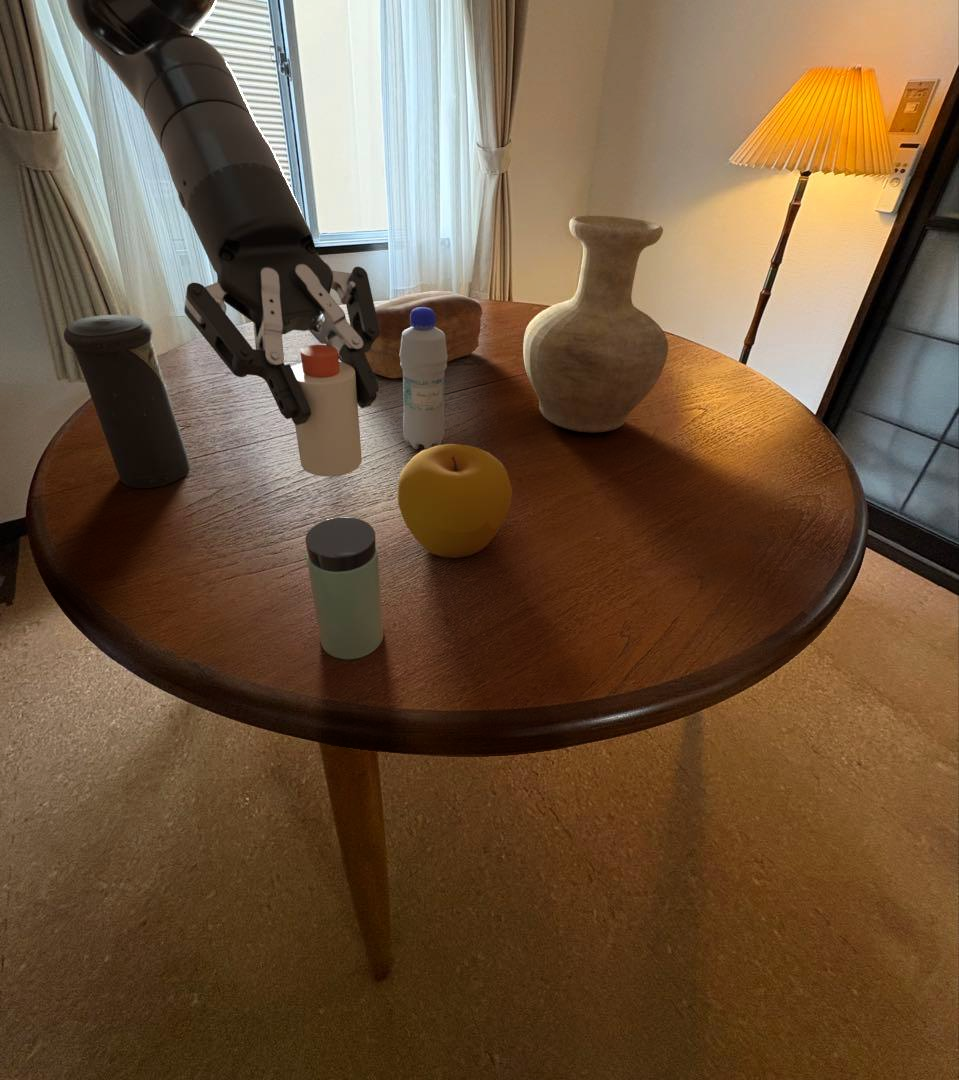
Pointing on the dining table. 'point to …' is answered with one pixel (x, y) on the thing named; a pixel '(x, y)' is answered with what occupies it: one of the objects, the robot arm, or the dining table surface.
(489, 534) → the apple
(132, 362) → the container
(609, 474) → the dining table surface
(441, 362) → the bottle
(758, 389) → the dining table surface
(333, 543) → the celadon jar
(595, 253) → the vase
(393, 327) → the bread
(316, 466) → the cream bottle
